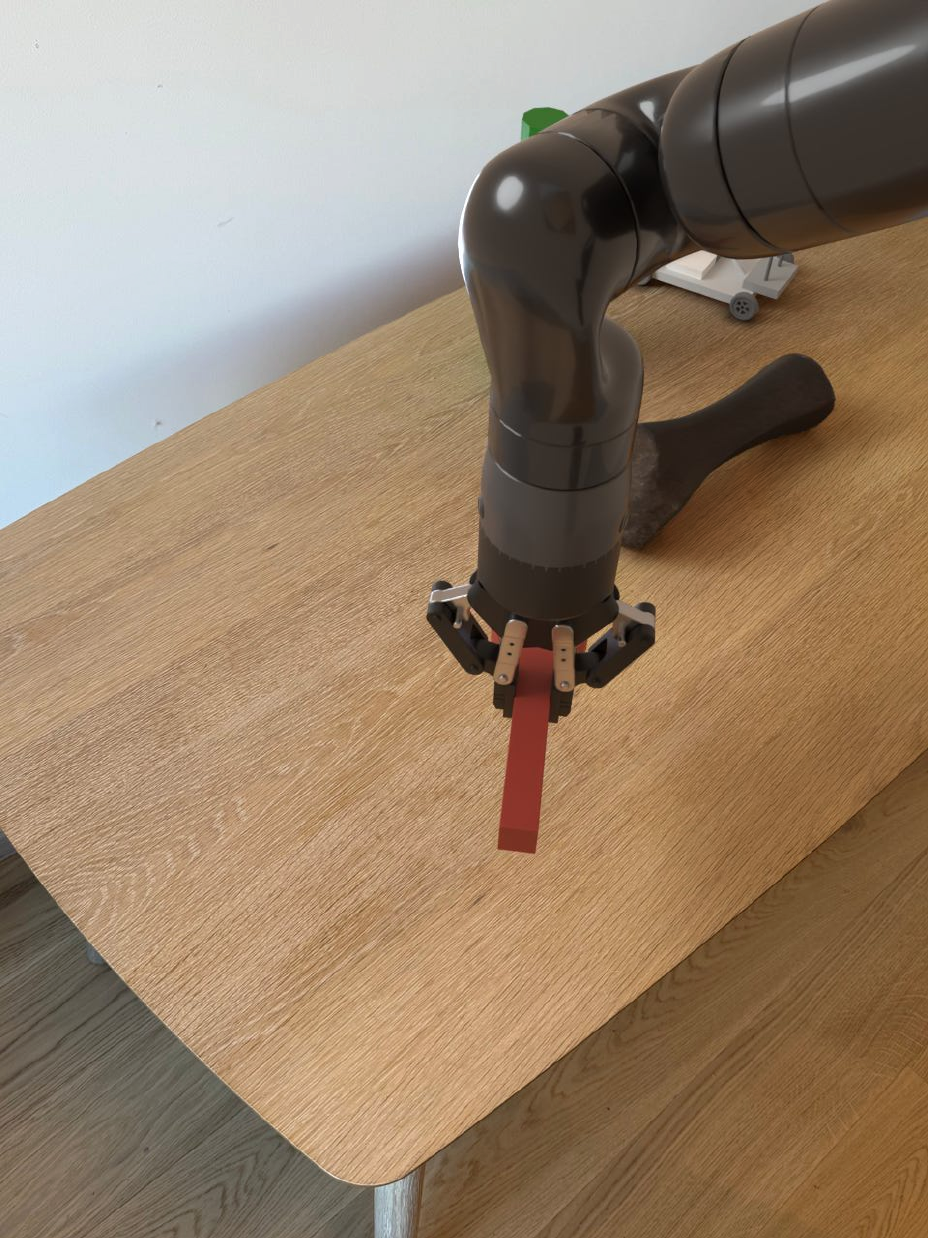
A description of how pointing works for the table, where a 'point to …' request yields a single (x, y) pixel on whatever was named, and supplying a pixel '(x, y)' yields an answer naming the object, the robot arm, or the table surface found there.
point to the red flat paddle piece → (527, 750)
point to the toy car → (730, 278)
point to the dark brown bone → (719, 439)
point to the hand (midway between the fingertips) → (530, 708)
